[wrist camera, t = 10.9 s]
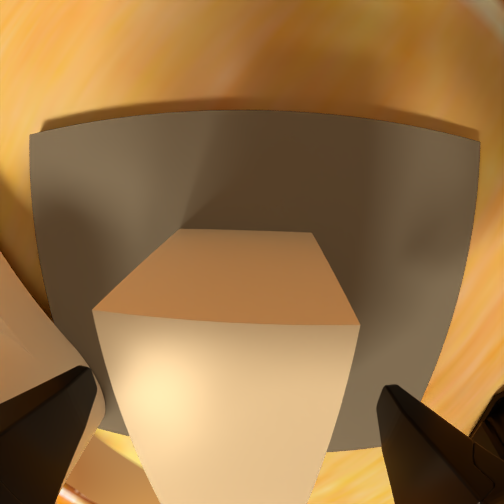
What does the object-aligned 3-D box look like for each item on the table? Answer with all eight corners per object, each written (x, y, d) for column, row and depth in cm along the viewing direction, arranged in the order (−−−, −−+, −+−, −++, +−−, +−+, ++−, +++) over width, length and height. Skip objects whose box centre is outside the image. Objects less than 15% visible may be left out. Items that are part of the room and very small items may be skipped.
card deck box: (292, 406, 13) (299, 520, 7) (194, 400, 13) (164, 509, 7) (311, 232, 10) (360, 325, 5) (179, 228, 11) (91, 309, 5)
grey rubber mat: (471, 141, 9) (480, 141, 9) (396, 436, 14) (399, 443, 14) (38, 134, 10) (29, 134, 10) (96, 420, 15) (92, 426, 14)
